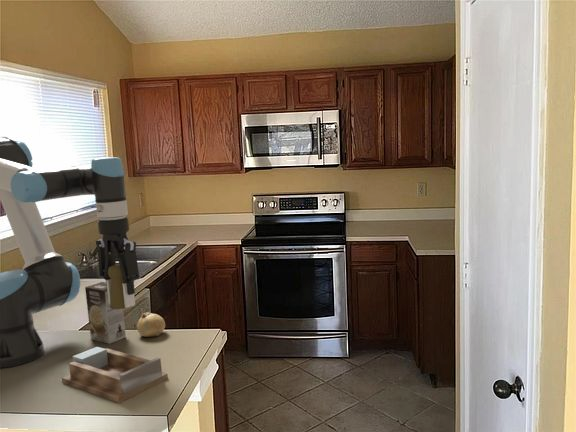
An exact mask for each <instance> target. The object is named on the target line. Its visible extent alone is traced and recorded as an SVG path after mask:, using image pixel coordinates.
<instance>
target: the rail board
mask: <svg viewBox="0 0 576 432" xmlns="http://www.w3.org/2000/svg"><path fill="white" fill-rule="evenodd" d="M105 349H107V357H108V365H106V366H104V367H101V368H99V369H98V368H95V367H92V366H89V365H85V364H82V363H79V362H76V361H74V362H73V361H72V362H69V363H68V367H69V368H68V369H69V374H66V375H65V376H62V377H61V382H62V383H63V384H66V385H68V386H72V387H74V388H77V389H80V390H83V391H84V392H88V393H91V394H94V395H96V396H99V397H102V398H105V399H107V400H109V401H113V402H116V403H119V404H120V403H123V402H124V401H126V400H128V399H130V398H132V397H133V396H136V395H138V394H140V393H141V392H143V391H145V390H147V389H150V388H152V387H154V386H155V385H157V384H160V383H162V382H163V381H165V380H168V379H169V377H168V373H167V372H164V371H162V369H163V368H162V361H161V358H160V357H154V358H152V359H151V360H150V359H147V358H144V357H140V356H135V355H133V354H130V353H125V352H122V351H118V350H116V349H115V350H113V349H111V348H106V347H105Z"/></svg>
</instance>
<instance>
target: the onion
mask: <svg viewBox="0 0 576 432" xmlns="http://www.w3.org/2000/svg"><path fill="white" fill-rule="evenodd" d="M165 327H166V322H165V319H164V318H163V317H162V316H160V315H159V314H157V313H152V312H149V311H147V312H144V313H142V314H141V317H140V318H139V320H138V321H137V326H136V329H137V332H138V334H139V335H140V336H142V337H144V338H145V337H159V336H160V335H161V334H162V333H163V331H164V330H165Z"/></svg>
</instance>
